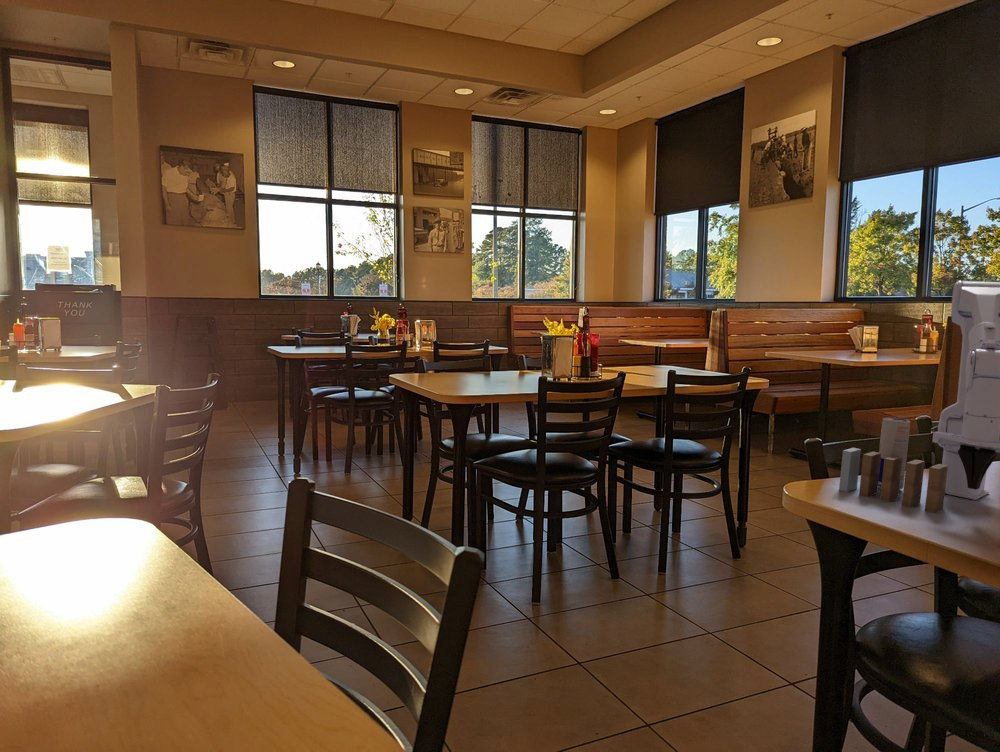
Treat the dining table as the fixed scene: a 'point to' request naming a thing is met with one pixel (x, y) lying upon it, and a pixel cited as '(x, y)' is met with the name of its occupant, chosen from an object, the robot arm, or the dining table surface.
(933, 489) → the domino
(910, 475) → the domino
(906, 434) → the white tall box
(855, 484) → the domino
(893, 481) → the domino
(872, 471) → the domino
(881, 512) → the dining table surface
